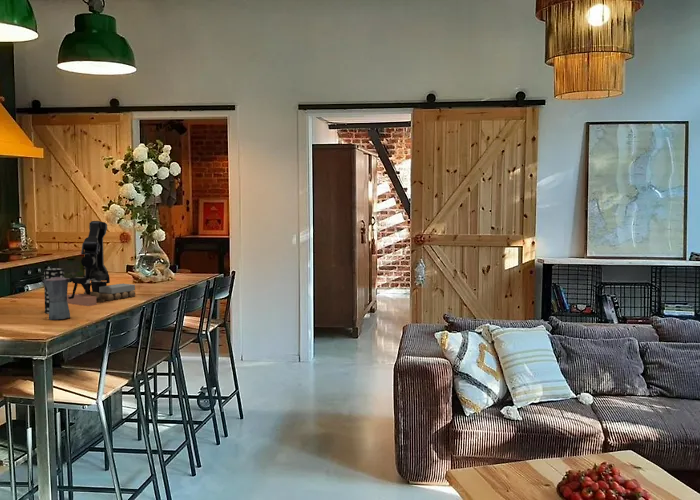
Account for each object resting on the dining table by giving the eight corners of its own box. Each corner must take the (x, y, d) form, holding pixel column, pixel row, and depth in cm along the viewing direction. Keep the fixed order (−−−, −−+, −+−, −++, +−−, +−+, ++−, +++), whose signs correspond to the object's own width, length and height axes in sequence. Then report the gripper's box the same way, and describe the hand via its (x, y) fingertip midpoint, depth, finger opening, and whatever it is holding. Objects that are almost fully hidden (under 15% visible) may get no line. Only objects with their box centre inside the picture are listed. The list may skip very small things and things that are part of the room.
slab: (99, 292, 344) (99, 286, 344) (122, 288, 358) (122, 283, 358) (111, 293, 340) (111, 288, 339) (134, 290, 354) (134, 284, 354)
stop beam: (65, 303, 330) (65, 294, 329) (74, 301, 334) (73, 292, 334) (88, 305, 322) (88, 296, 322) (96, 304, 327) (96, 295, 326)
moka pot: (46, 316, 293) (45, 271, 292) (82, 316, 295) (81, 272, 293) (38, 320, 284) (37, 274, 282) (75, 320, 285) (74, 274, 284)
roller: (83, 297, 334) (83, 291, 334) (88, 296, 337) (88, 290, 337) (94, 298, 331) (94, 292, 330) (99, 297, 333) (99, 291, 333)
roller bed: (78, 302, 333) (78, 295, 333) (121, 295, 358) (121, 288, 358) (92, 303, 329) (92, 297, 328) (135, 296, 354) (135, 290, 353)
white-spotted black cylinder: (68, 311, 307) (67, 268, 305) (55, 314, 299) (54, 270, 297) (54, 310, 309) (53, 267, 308) (40, 312, 302) (39, 269, 300)
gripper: (87, 267, 321) (87, 299, 322) (116, 264, 337) (117, 295, 338) (71, 266, 326) (71, 297, 327) (101, 263, 342) (101, 293, 343)
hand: (91, 295), depth 334 cm, fingers closed on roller, 3 cm apart
